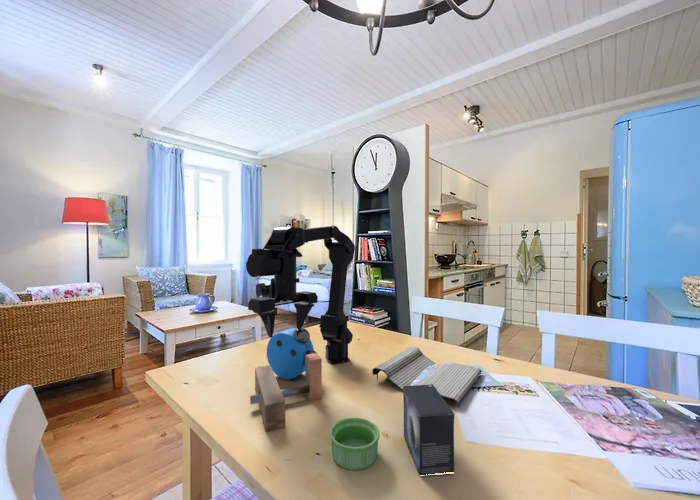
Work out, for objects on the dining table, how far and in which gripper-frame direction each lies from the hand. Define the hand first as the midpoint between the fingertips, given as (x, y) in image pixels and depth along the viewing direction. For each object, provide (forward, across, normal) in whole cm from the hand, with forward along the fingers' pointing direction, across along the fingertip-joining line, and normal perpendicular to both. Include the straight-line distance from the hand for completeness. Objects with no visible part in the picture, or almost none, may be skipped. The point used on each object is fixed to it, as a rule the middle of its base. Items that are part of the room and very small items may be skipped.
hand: (285, 333), depth 80 cm
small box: (+15, -1, +40) cm, 43 cm away
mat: (+15, -30, +26) cm, 43 cm away
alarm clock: (+10, -4, -11) cm, 16 cm away
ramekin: (+15, +7, +30) cm, 35 cm away
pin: (+15, +4, +6) cm, 16 cm away
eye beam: (+15, +8, +4) cm, 17 cm away
